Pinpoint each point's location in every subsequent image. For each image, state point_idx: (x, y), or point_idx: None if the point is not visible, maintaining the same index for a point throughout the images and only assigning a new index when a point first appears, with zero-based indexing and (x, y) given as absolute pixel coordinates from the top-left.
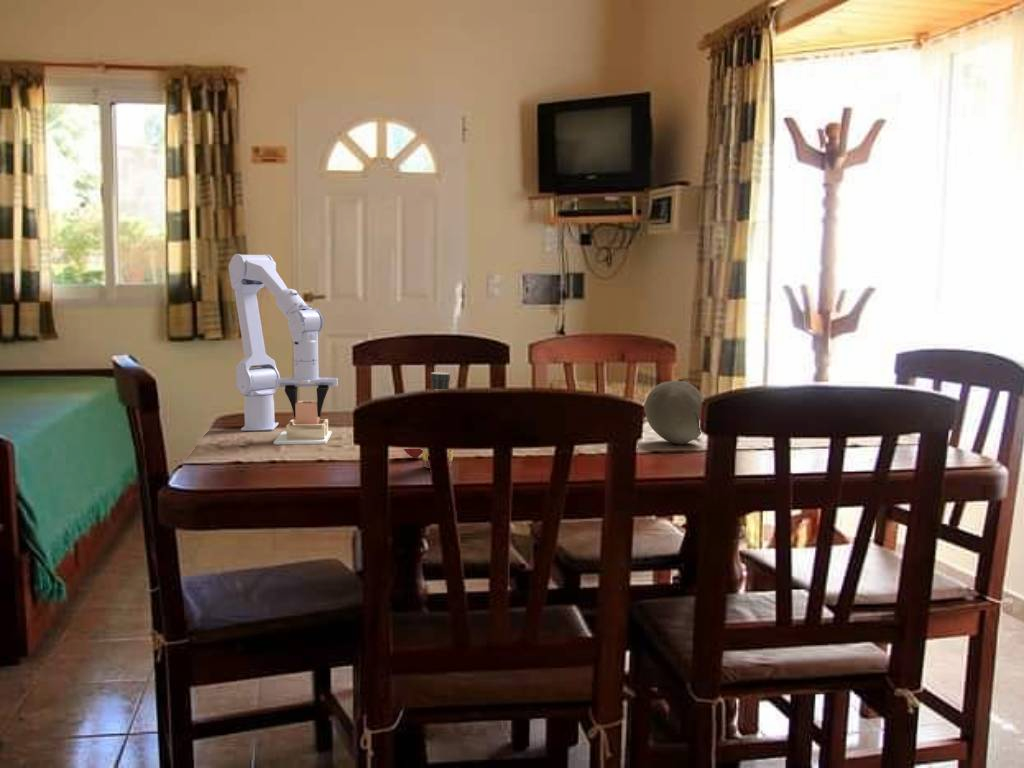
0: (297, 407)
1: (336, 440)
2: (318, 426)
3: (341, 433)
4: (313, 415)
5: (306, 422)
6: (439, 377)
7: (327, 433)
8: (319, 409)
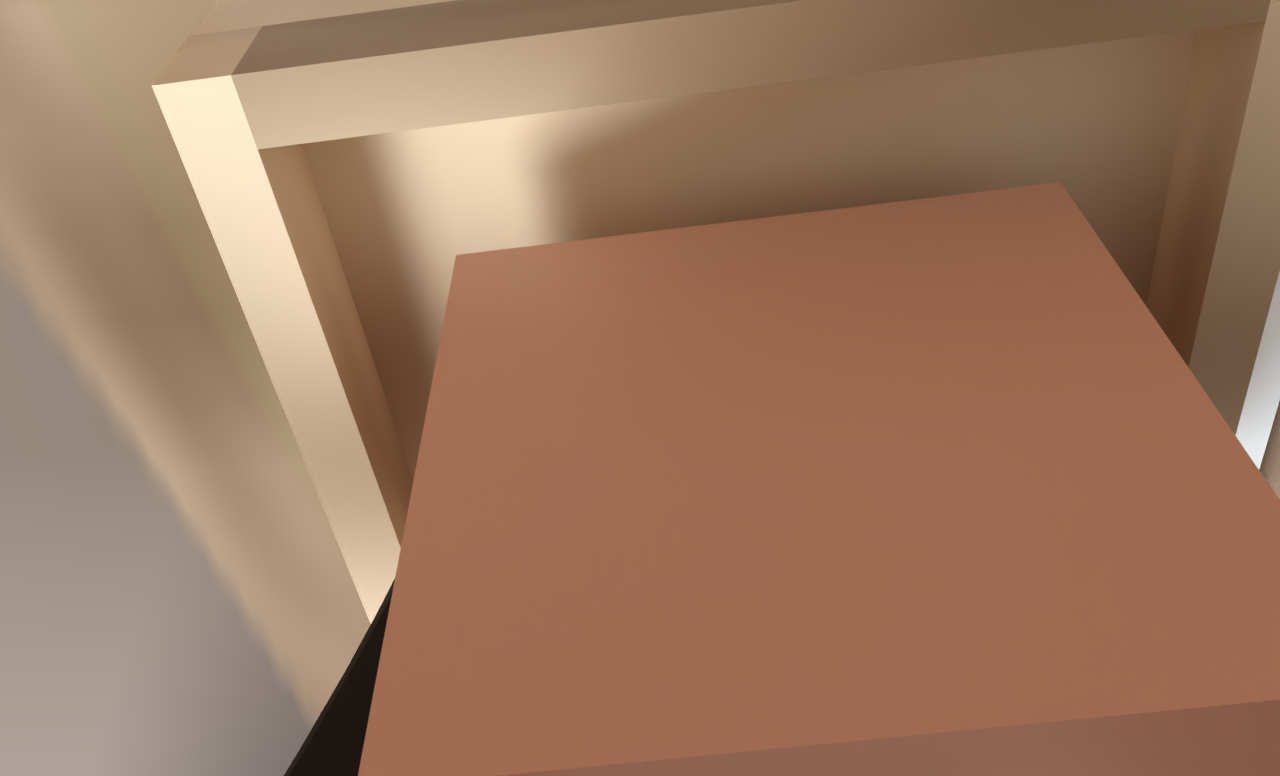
0: (1217, 556)
1: (96, 118)
2: (335, 44)
3: (313, 653)
4: (540, 407)
5: (758, 254)
6: None
7: None
8: (369, 683)
